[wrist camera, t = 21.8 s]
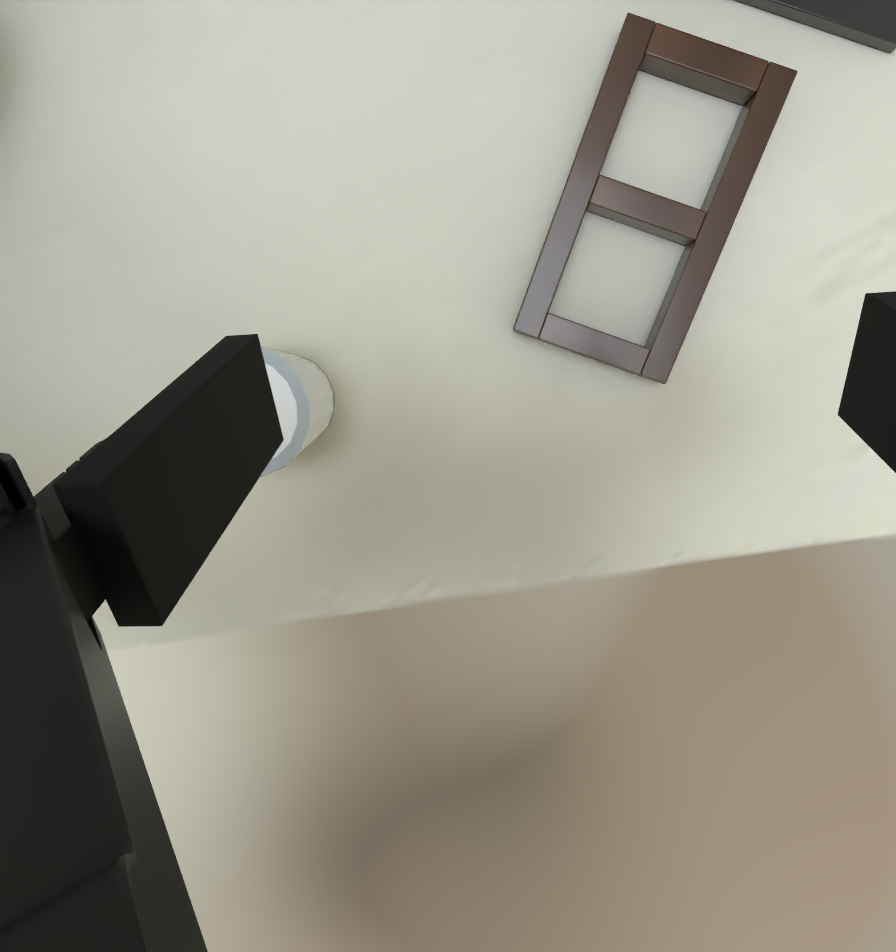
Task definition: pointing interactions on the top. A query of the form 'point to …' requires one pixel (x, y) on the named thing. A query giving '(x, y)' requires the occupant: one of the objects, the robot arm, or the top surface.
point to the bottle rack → (647, 211)
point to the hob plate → (842, 18)
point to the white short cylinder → (297, 403)
